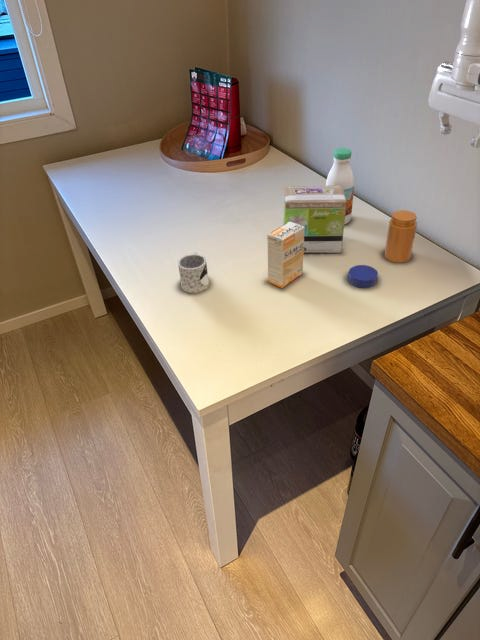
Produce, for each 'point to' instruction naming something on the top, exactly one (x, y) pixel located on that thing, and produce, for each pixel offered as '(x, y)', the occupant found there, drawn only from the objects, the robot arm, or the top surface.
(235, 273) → the top surface
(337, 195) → the tea box
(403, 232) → the jar
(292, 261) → the supplement box
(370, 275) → the lid
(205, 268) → the mug
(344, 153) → the milk bottle
